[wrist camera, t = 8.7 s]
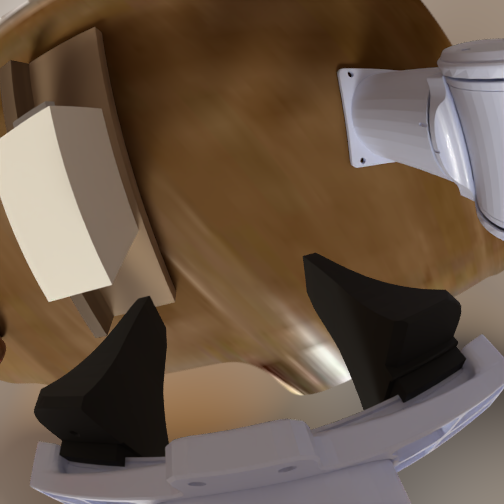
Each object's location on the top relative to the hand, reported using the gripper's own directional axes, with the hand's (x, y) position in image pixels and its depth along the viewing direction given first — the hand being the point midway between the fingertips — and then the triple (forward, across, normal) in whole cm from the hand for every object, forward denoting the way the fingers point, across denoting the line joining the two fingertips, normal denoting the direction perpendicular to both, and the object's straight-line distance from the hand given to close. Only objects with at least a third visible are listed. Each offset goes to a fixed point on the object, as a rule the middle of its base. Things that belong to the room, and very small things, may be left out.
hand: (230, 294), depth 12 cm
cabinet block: (+8, +8, -6) cm, 13 cm away
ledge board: (+9, +8, -6) cm, 14 cm away
